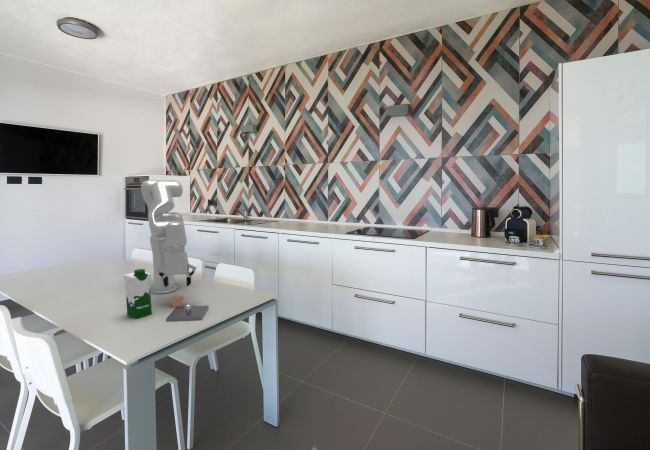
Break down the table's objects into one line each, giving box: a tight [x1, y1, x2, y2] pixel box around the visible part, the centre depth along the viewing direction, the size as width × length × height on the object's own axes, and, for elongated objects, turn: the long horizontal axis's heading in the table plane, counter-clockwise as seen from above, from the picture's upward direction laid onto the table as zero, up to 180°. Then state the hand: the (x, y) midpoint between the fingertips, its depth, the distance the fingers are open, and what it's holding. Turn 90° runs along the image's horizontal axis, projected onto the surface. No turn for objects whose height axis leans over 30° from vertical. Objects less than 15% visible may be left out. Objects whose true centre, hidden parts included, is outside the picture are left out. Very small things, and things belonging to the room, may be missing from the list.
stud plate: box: [165, 303, 210, 322], centre depth 145 cm, size 14×14×4 cm
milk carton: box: [123, 268, 153, 320], centre depth 144 cm, size 9×9×20 cm
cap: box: [170, 294, 185, 308], centre depth 156 cm, size 5×5×4 cm
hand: (177, 285), depth 155 cm, fingers open, 9 cm apart
